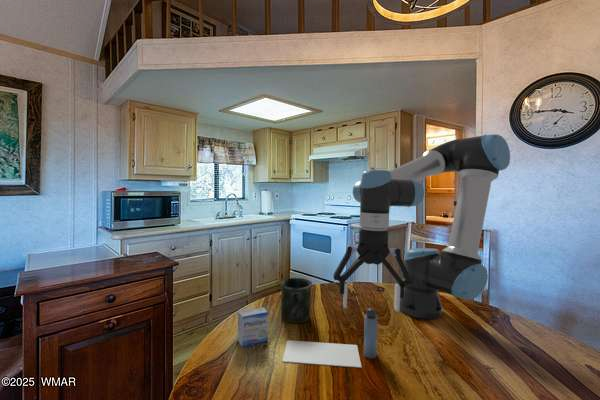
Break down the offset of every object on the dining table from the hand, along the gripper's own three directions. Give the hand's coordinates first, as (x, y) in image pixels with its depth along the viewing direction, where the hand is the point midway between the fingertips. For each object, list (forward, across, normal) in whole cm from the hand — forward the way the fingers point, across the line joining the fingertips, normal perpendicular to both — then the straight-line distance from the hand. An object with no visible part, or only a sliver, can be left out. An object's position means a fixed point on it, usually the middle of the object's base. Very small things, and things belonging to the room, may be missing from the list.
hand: (370, 307), depth 76 cm
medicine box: (+14, -33, +3) cm, 35 cm away
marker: (+13, 0, 0) cm, 13 cm away
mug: (+13, -22, +18) cm, 31 cm away
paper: (+13, -13, -1) cm, 18 cm away
